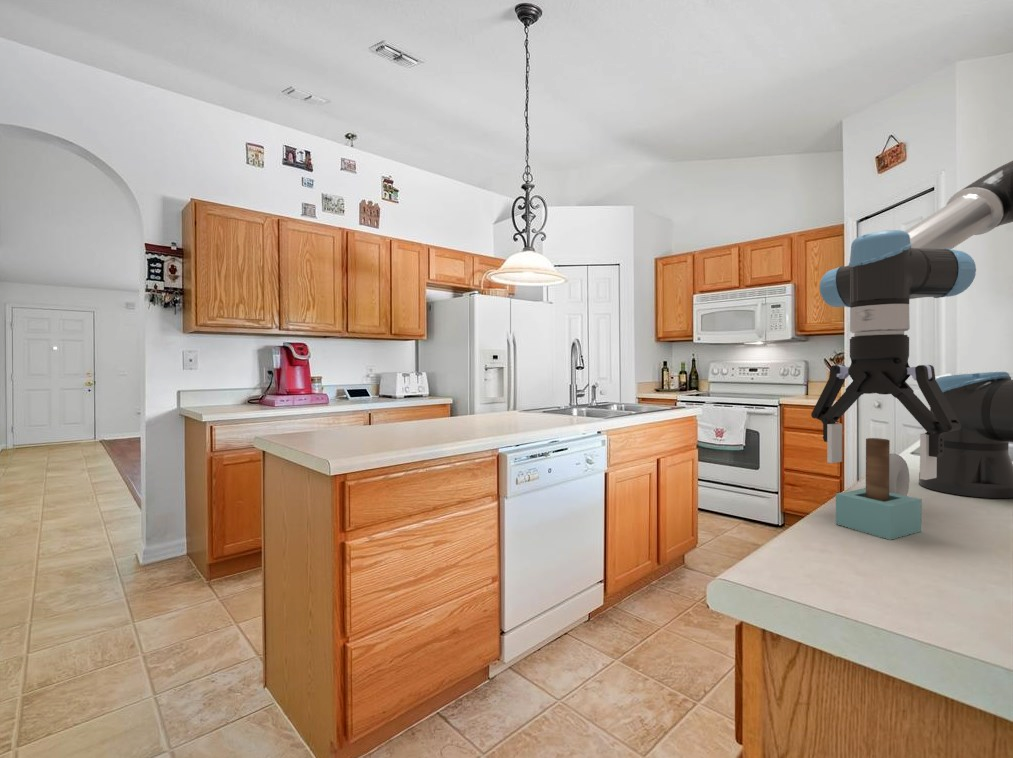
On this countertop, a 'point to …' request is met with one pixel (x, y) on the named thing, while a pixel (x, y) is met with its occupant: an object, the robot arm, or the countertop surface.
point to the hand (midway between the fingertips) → (877, 469)
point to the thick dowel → (877, 469)
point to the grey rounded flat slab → (898, 475)
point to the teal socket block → (879, 514)
